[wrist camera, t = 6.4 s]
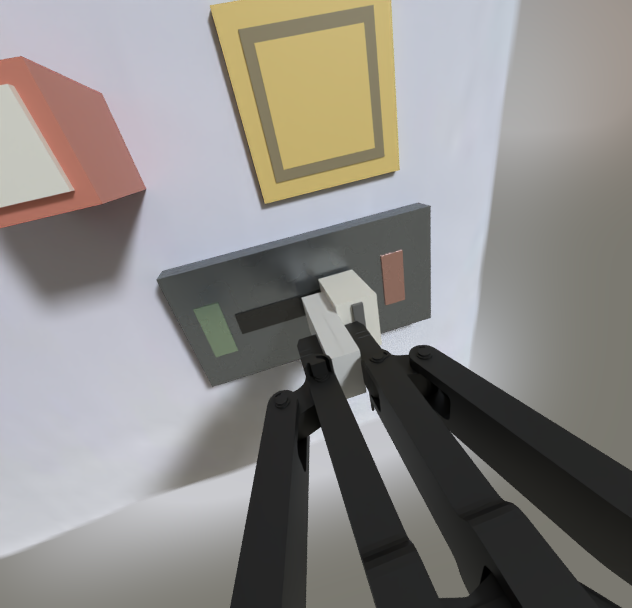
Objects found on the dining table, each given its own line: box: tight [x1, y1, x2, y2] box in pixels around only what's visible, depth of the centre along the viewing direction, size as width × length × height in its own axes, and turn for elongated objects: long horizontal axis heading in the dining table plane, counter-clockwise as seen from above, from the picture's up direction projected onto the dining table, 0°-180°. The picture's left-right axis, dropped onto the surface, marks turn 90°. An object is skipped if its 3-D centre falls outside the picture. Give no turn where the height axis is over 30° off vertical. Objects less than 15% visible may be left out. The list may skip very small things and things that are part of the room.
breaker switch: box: [318, 270, 382, 345], centre depth 18 cm, size 2×4×4 cm, turn 12°
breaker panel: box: [157, 203, 431, 387], centre depth 21 cm, size 18×9×2 cm, turn 102°
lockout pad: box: [210, 0, 400, 204], centre depth 16 cm, size 9×9×1 cm
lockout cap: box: [0, 56, 146, 228], centre depth 12 cm, size 4×4×6 cm
